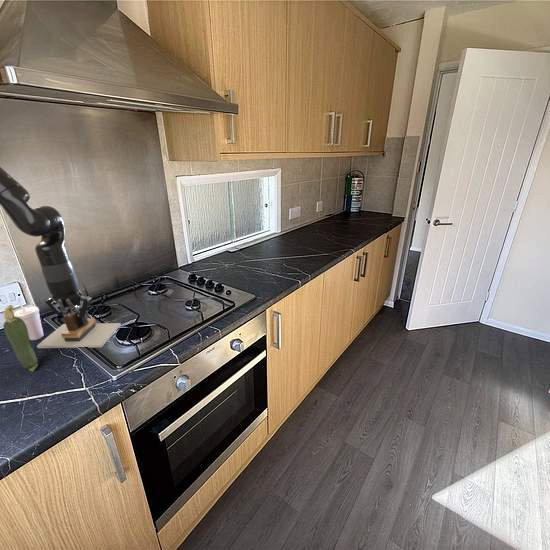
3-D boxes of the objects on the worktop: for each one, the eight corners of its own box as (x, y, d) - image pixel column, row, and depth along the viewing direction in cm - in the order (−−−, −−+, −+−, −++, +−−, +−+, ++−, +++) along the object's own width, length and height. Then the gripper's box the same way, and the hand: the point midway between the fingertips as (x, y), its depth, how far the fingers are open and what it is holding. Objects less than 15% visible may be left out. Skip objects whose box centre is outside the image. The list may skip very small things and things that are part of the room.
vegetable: (19, 373, 79) (-12, 309, 71) (33, 362, 83) (5, 301, 75) (33, 374, 79) (4, 310, 71) (47, 363, 83) (20, 301, 75)
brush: (79, 341, 90) (71, 319, 87) (64, 342, 90) (55, 320, 87) (96, 325, 98) (89, 304, 95) (82, 325, 99) (74, 305, 95)
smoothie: (35, 331, 98) (19, 294, 93) (53, 331, 98) (38, 294, 92) (19, 342, 92) (1, 304, 87) (38, 342, 92) (21, 304, 86)
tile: (37, 348, 90) (36, 345, 89) (64, 326, 101) (63, 323, 100) (101, 347, 89) (100, 344, 88) (121, 325, 100) (120, 323, 99)
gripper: (91, 270, 89) (106, 318, 96) (46, 271, 90) (64, 319, 97) (75, 280, 83) (92, 332, 90) (27, 282, 83) (48, 332, 90)
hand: (78, 325), depth 93 cm, fingers closed on brush, 2 cm apart
